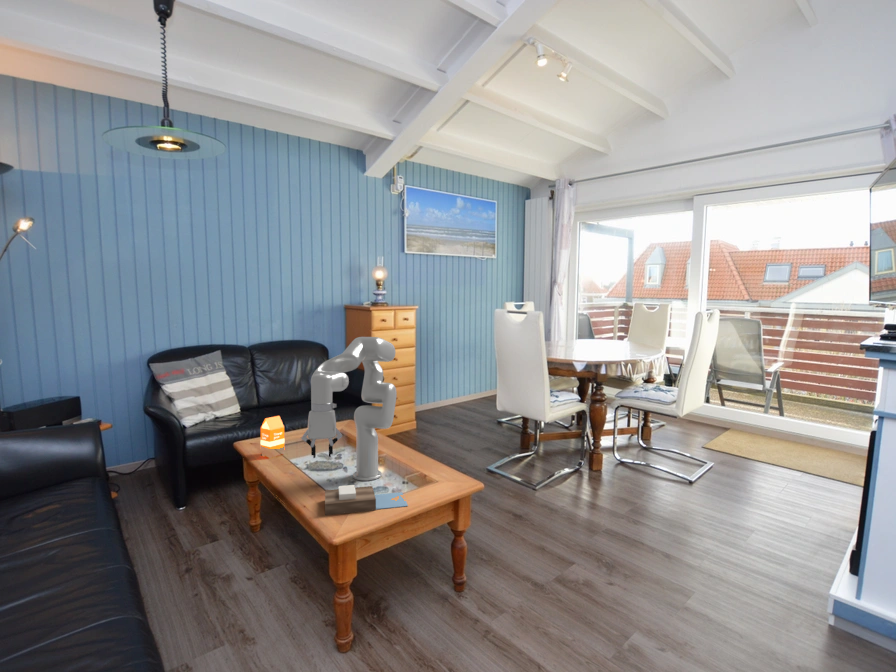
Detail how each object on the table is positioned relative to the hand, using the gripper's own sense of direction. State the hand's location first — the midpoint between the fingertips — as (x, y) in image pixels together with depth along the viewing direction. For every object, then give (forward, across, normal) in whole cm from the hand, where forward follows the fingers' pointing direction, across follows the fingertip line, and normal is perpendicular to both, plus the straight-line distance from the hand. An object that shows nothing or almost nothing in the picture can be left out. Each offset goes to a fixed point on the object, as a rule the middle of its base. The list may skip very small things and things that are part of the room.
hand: (322, 455), depth 168 cm
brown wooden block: (+19, -10, 0) cm, 22 cm away
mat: (+19, -25, 0) cm, 32 cm away
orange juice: (+20, +26, -75) cm, 82 cm away
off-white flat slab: (+14, -9, 0) cm, 17 cm away
